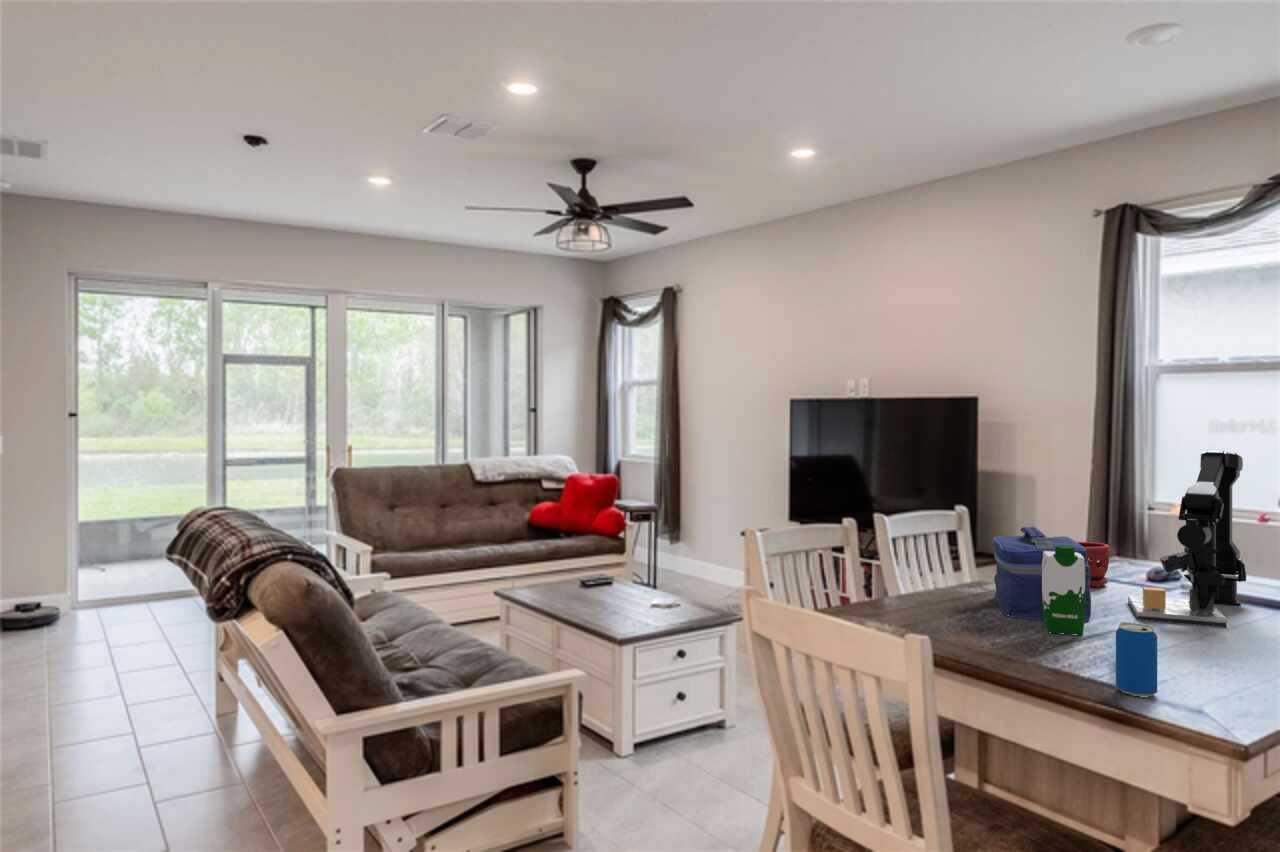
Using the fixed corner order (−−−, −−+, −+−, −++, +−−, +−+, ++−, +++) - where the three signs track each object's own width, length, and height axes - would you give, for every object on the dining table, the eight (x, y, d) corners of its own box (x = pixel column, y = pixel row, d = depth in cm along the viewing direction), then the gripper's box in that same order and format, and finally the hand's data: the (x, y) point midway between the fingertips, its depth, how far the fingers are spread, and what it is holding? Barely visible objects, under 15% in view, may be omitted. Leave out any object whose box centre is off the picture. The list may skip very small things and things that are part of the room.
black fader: (1189, 613, 203) (1189, 589, 203) (1210, 614, 202) (1210, 590, 201) (1191, 615, 201) (1191, 591, 201) (1213, 617, 199) (1213, 593, 199)
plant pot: (1110, 582, 245) (1110, 542, 245) (1108, 590, 234) (1108, 548, 234) (1061, 578, 252) (1061, 539, 252) (1056, 585, 241) (1056, 545, 241)
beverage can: (1163, 700, 146) (1163, 632, 146) (1123, 697, 147) (1123, 631, 147) (1148, 688, 152) (1148, 623, 152) (1110, 686, 154) (1110, 621, 154)
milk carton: (1045, 634, 189) (1045, 547, 189) (1040, 624, 198) (1039, 541, 198) (1088, 637, 187) (1088, 549, 186) (1080, 627, 195) (1080, 543, 195)
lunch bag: (988, 593, 233) (988, 520, 233) (1070, 597, 227) (1070, 522, 227) (1004, 620, 203) (1004, 537, 203) (1099, 625, 197) (1099, 539, 197)
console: (1128, 602, 220) (1128, 594, 220) (1209, 608, 212) (1209, 600, 212) (1137, 619, 201) (1137, 611, 201) (1226, 627, 194) (1226, 618, 194)
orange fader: (1142, 610, 206) (1142, 587, 206) (1163, 611, 205) (1163, 588, 205) (1144, 613, 204) (1144, 589, 204) (1165, 614, 202) (1165, 590, 202)
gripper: (1156, 536, 213) (1156, 596, 213) (1168, 547, 196) (1168, 612, 196) (1208, 538, 208) (1208, 600, 208) (1225, 550, 191) (1225, 617, 191)
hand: (1201, 607), depth 201 cm, fingers closed on black fader, 3 cm apart
